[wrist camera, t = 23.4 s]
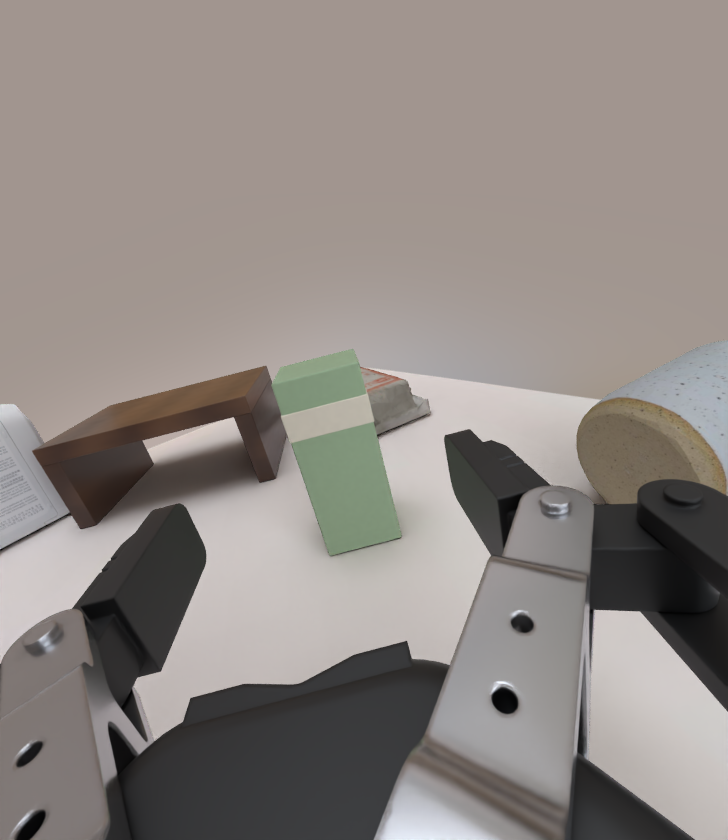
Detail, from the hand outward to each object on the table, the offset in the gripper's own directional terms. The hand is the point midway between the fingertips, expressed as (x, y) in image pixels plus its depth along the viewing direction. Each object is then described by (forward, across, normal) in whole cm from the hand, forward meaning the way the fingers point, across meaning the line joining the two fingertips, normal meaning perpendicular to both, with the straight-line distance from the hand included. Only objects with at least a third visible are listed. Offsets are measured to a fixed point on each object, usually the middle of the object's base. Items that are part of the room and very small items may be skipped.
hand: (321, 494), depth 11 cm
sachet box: (+10, 0, +9) cm, 14 cm away
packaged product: (+32, -2, +9) cm, 34 cm away
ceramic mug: (+4, -18, +9) cm, 21 cm away
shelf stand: (+26, +16, +9) cm, 32 cm away
